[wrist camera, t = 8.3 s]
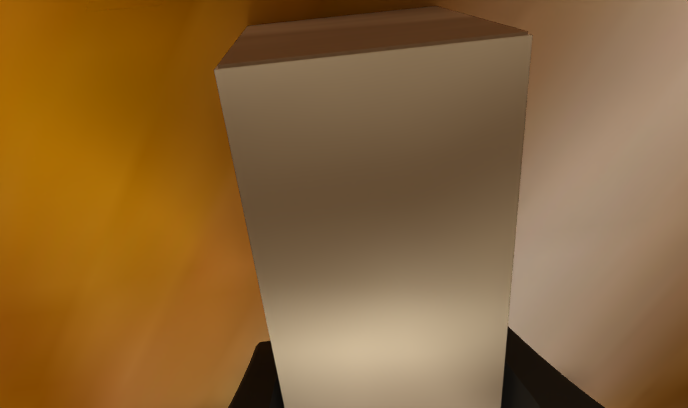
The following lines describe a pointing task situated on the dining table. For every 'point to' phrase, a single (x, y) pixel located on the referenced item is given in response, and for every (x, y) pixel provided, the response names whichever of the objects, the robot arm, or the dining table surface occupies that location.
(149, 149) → the dining table surface
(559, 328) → the dining table surface
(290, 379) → the rail
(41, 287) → the dining table surface
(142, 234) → the dining table surface
